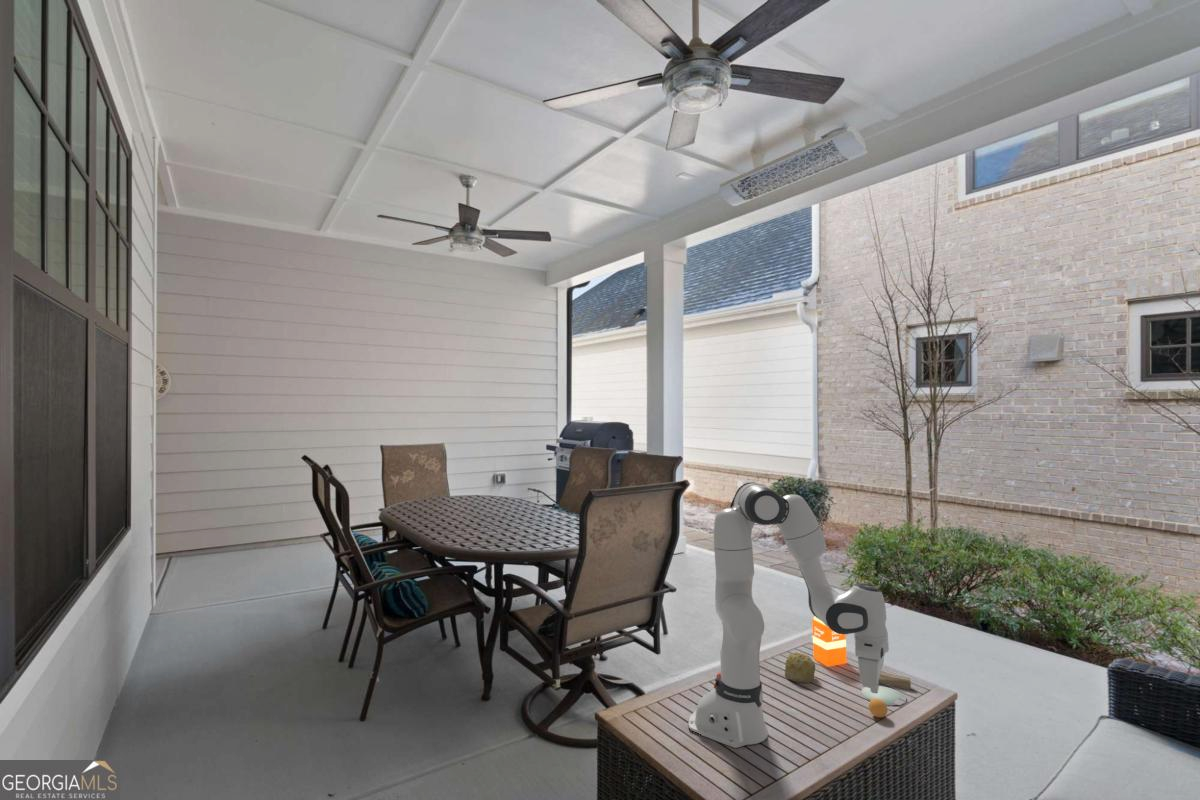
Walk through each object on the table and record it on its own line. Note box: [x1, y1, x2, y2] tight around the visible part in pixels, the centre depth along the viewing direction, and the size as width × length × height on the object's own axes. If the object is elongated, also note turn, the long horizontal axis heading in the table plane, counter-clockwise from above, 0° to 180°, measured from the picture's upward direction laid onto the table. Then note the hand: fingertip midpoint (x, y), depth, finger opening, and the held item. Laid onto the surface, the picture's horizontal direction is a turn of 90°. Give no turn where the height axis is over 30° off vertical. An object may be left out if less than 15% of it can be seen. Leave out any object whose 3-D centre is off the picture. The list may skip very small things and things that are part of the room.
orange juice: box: [811, 615, 848, 667], centre depth 201 cm, size 8×9×20 cm
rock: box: [784, 652, 816, 684], centre depth 188 cm, size 10×11×10 cm
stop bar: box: [878, 671, 912, 690], centre depth 182 cm, size 2×14×3 cm, turn 57°
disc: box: [861, 685, 907, 707], centre depth 174 cm, size 13×13×1 cm
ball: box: [868, 699, 888, 718], centre depth 161 cm, size 5×5×5 cm
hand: (874, 691), depth 154 cm, fingers closed
